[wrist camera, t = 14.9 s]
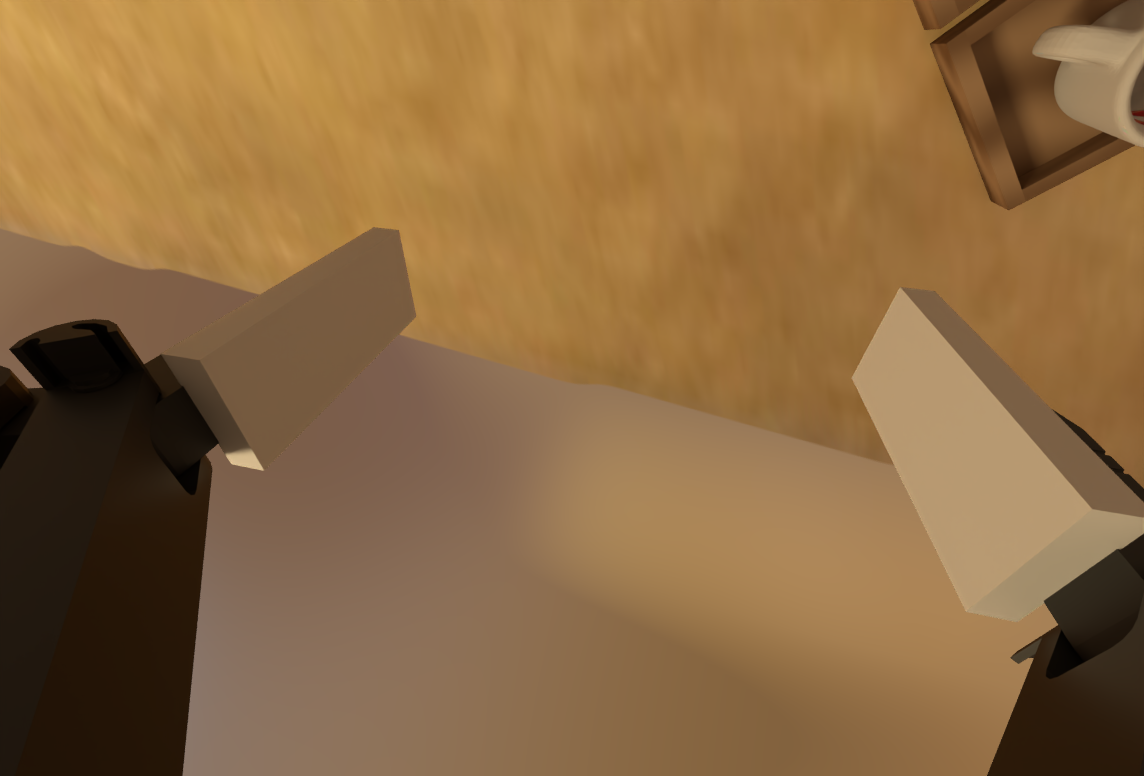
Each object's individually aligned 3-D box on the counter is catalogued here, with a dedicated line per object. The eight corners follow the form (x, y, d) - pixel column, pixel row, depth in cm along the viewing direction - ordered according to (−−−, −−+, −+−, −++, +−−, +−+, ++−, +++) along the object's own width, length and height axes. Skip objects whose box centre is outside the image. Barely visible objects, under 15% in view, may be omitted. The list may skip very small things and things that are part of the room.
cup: (960, 111, 32) (1027, 126, 25) (1051, -43, 27) (1161, -71, 20) (1121, 140, 31) (1231, 164, 25) (1246, -12, 26) (1422, -32, 20)
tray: (930, 43, 30) (946, 43, 28) (1213, -162, 24) (1260, -181, 22) (990, 201, 35) (1008, 210, 33) (1243, 66, 28) (1285, 68, 26)
